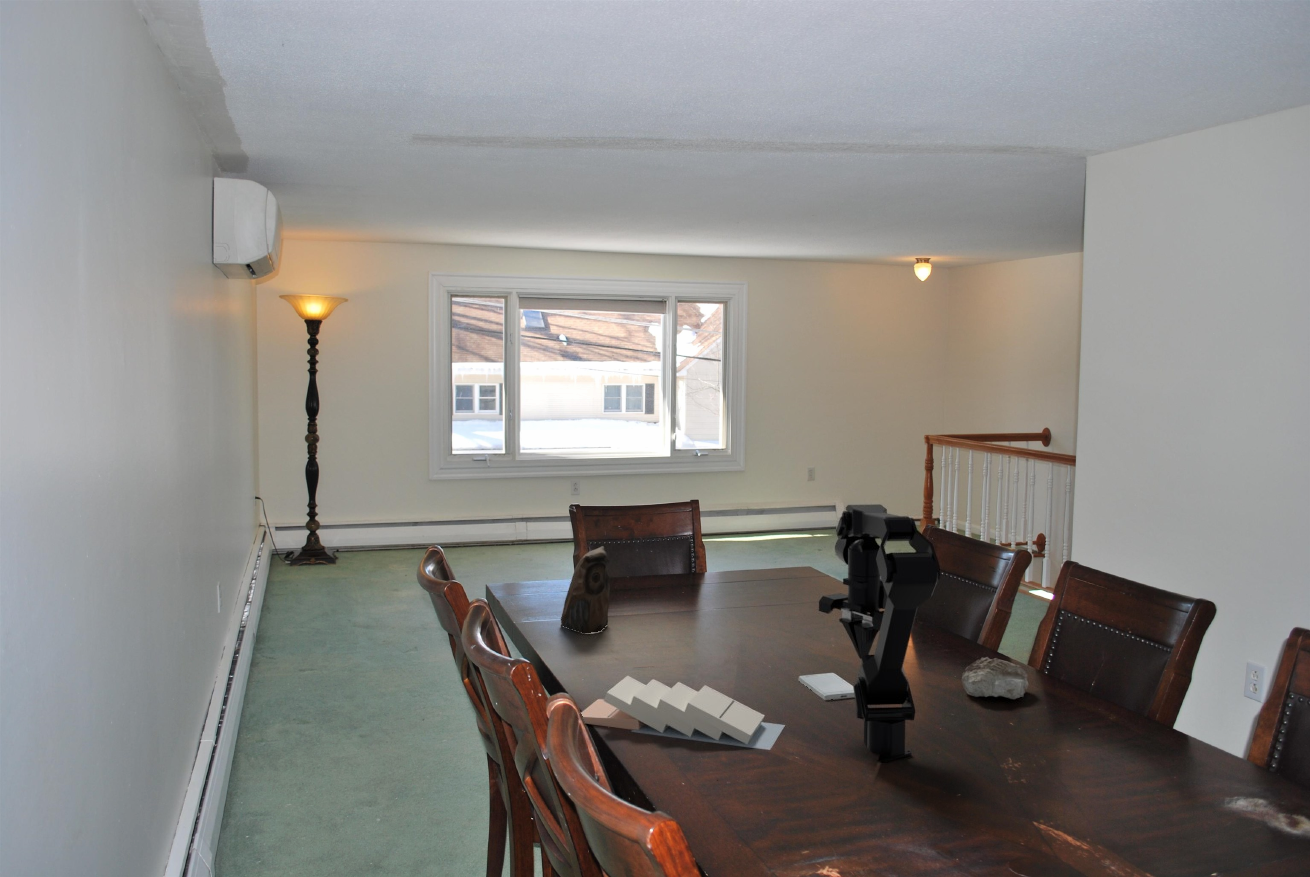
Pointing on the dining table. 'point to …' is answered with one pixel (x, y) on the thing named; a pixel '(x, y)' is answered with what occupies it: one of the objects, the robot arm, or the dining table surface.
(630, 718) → the domino
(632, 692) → the domino
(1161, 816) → the dining table surface
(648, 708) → the domino
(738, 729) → the domino
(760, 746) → the board
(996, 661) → the rock
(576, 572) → the owl
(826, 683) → the hard drive
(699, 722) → the domino
